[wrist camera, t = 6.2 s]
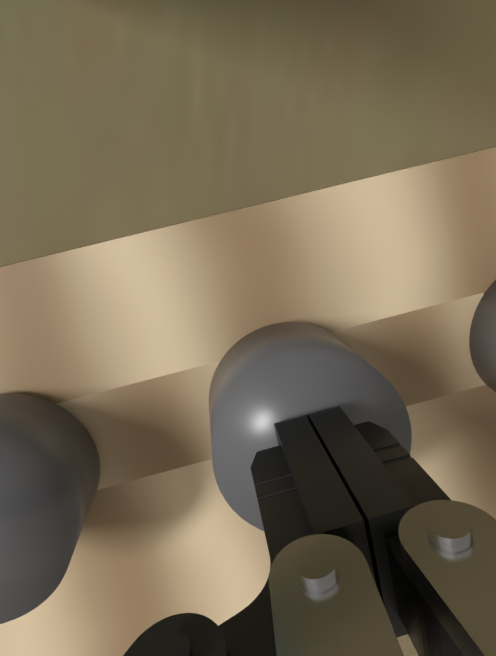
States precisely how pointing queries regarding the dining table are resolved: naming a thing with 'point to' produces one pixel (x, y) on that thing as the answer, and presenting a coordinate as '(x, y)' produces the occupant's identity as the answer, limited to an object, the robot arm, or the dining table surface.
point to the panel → (207, 351)
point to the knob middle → (288, 399)
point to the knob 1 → (40, 498)
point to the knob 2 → (485, 338)
